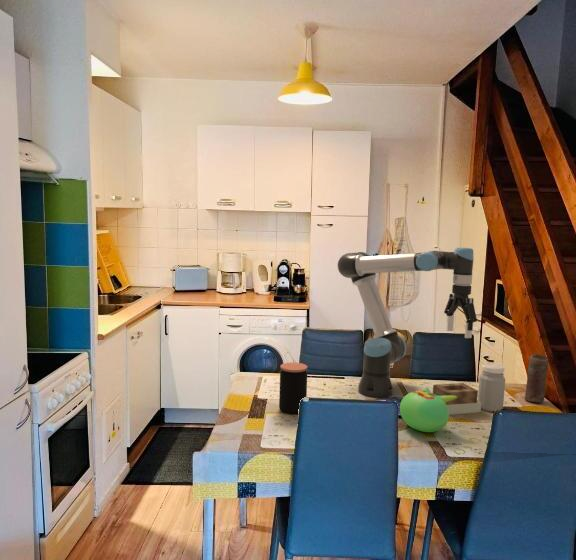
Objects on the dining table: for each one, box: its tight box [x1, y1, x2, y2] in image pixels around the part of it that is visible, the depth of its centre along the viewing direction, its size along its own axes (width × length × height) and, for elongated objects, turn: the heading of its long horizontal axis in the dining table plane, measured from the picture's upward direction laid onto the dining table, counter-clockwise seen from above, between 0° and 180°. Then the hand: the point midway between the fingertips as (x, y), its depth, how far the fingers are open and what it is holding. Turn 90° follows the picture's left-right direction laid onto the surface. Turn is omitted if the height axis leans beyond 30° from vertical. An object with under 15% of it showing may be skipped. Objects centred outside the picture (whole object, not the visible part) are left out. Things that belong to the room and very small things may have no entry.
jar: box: [477, 362, 506, 413], centre depth 204 cm, size 10×10×18 cm
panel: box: [447, 399, 482, 416], centre depth 203 cm, size 18×10×8 cm, turn 104°
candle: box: [524, 353, 549, 404], centre depth 214 cm, size 8×7×20 cm
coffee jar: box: [278, 362, 308, 416], centre depth 196 cm, size 11×11×18 cm
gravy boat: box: [399, 387, 457, 433], centre depth 181 cm, size 18×17×15 cm
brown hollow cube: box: [432, 382, 479, 405], centre depth 203 cm, size 14×10×5 cm
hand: (458, 334), depth 211 cm, fingers open, 13 cm apart
